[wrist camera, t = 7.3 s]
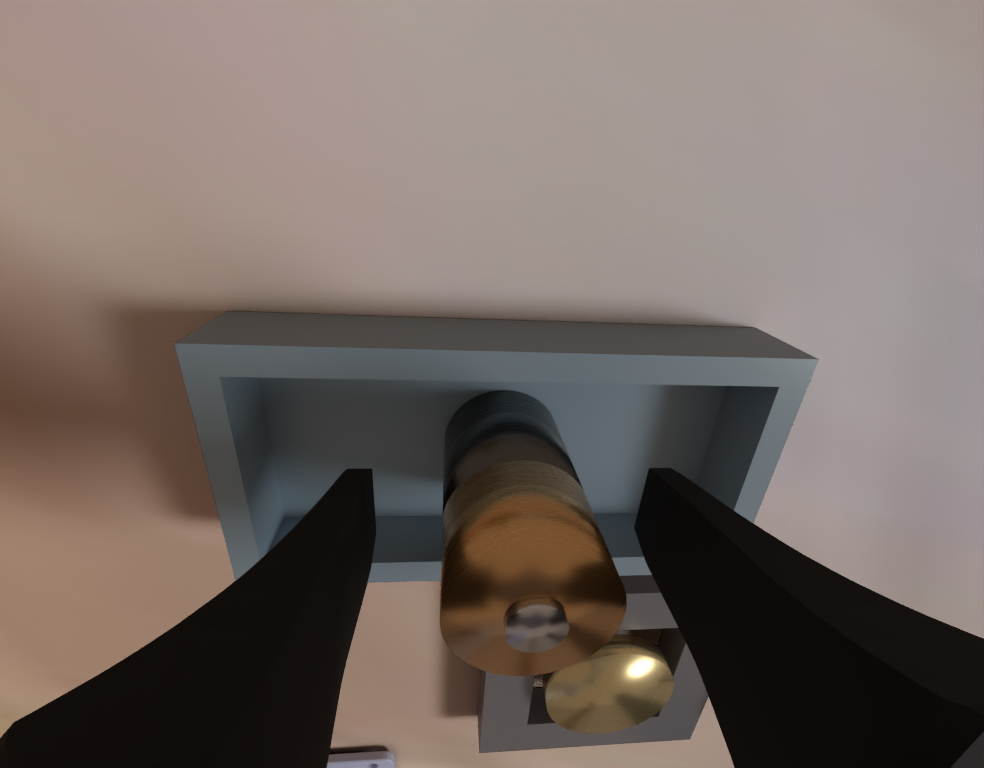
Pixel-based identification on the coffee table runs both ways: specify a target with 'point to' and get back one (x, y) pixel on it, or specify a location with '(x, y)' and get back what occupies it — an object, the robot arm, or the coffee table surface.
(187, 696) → the robot arm
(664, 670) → the disc
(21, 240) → the coffee table surface
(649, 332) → the slate trough
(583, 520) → the battery cell
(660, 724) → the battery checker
